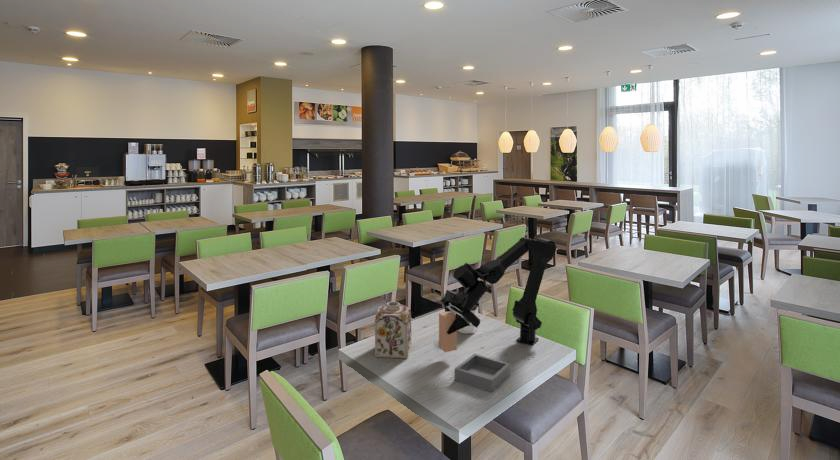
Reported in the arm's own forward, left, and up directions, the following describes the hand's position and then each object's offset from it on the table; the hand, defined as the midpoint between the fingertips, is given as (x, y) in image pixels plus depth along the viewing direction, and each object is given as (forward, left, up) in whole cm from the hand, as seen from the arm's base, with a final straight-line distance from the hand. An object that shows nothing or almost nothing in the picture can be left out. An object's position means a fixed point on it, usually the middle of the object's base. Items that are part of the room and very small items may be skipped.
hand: (444, 331), depth 158 cm
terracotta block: (-1, +1, -7) cm, 7 cm away
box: (+4, +17, -10) cm, 20 cm away
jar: (-27, -6, -11) cm, 30 cm away
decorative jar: (+5, -18, -11) cm, 22 cm away
